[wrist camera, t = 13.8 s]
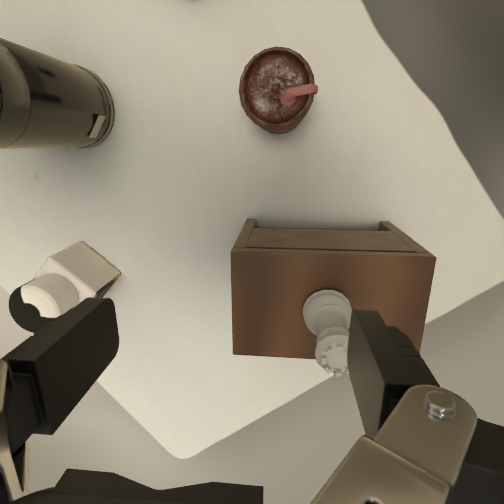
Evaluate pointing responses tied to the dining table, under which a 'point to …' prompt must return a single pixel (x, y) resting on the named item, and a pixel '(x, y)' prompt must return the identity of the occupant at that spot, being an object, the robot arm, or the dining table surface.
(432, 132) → the dining table surface
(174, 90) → the dining table surface
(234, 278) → the shelf
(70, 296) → the medicine bottle
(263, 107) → the can
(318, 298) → the rook chess piece
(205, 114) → the dining table surface
